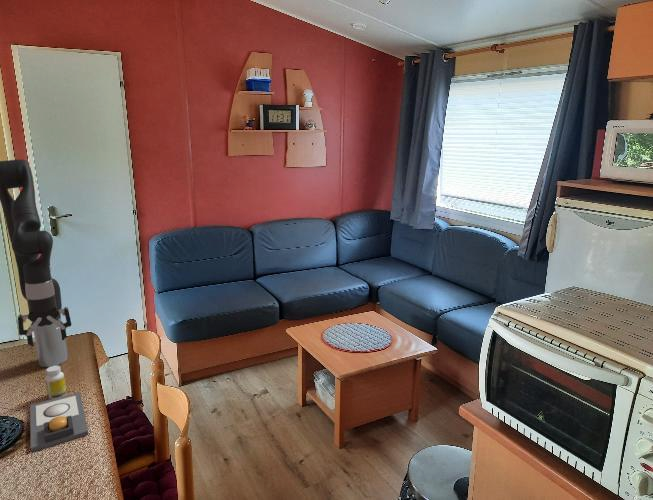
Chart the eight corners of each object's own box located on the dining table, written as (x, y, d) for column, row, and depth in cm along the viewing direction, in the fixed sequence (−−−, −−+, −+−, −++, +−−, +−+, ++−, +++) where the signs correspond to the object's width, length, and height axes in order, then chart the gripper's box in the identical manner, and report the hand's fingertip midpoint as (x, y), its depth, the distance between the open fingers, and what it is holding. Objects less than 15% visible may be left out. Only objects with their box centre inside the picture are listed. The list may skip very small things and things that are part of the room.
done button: (49, 425, 133) (48, 419, 132) (66, 420, 135) (65, 414, 135) (50, 434, 129) (48, 427, 129) (67, 428, 132) (66, 422, 131)
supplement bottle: (70, 392, 155) (66, 366, 152) (56, 401, 150) (52, 373, 147) (58, 389, 156) (53, 363, 154) (44, 398, 151) (39, 371, 149)
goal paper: (35, 406, 145) (35, 405, 144) (75, 396, 150) (75, 395, 150) (36, 426, 135) (36, 425, 135) (78, 414, 140) (78, 413, 140)
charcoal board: (30, 408, 146) (29, 399, 145) (80, 395, 153) (79, 386, 152) (31, 451, 126) (29, 441, 125) (88, 434, 133) (87, 424, 132)
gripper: (12, 302, 137) (21, 352, 141) (67, 294, 145) (74, 341, 149) (13, 295, 143) (21, 343, 147) (65, 287, 151) (72, 333, 155)
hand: (48, 342), depth 148 cm, fingers open, 8 cm apart
